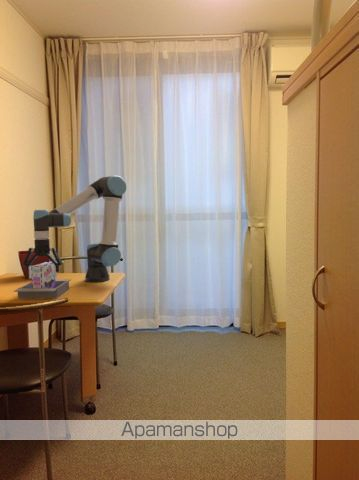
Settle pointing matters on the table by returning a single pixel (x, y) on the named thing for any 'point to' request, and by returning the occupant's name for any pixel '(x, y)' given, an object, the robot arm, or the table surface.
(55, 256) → the robot arm
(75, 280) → the table surface
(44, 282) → the candy box
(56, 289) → the grey rectangular frame
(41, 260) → the plant pot
